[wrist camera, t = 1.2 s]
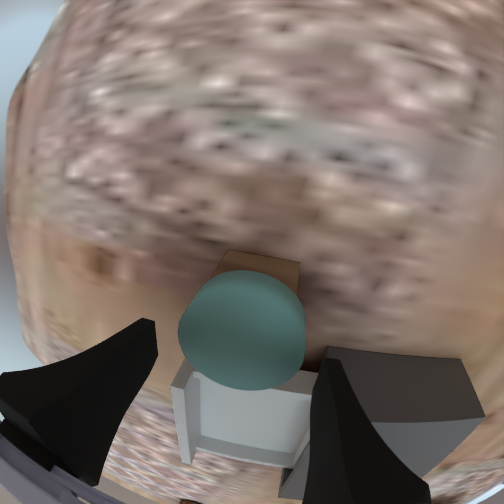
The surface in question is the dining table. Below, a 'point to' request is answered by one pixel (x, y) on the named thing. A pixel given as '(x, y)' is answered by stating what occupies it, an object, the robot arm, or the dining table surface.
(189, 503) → the sauce bottle
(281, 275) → the walnut block
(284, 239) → the dining table surface
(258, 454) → the tray
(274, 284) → the teal round puck
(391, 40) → the dining table surface
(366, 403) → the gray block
